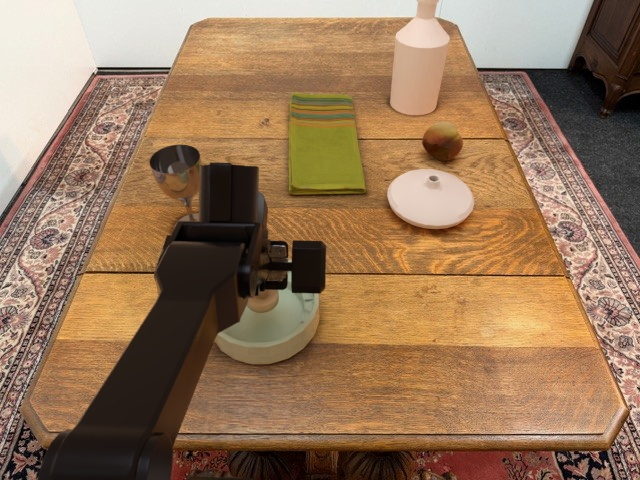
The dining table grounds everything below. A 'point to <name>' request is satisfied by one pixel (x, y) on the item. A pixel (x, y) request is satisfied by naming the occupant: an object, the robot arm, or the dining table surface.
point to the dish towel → (323, 145)
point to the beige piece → (264, 301)
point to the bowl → (273, 329)
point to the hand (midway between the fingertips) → (259, 262)
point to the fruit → (442, 141)
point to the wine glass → (178, 174)
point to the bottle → (419, 62)
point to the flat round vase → (430, 198)
